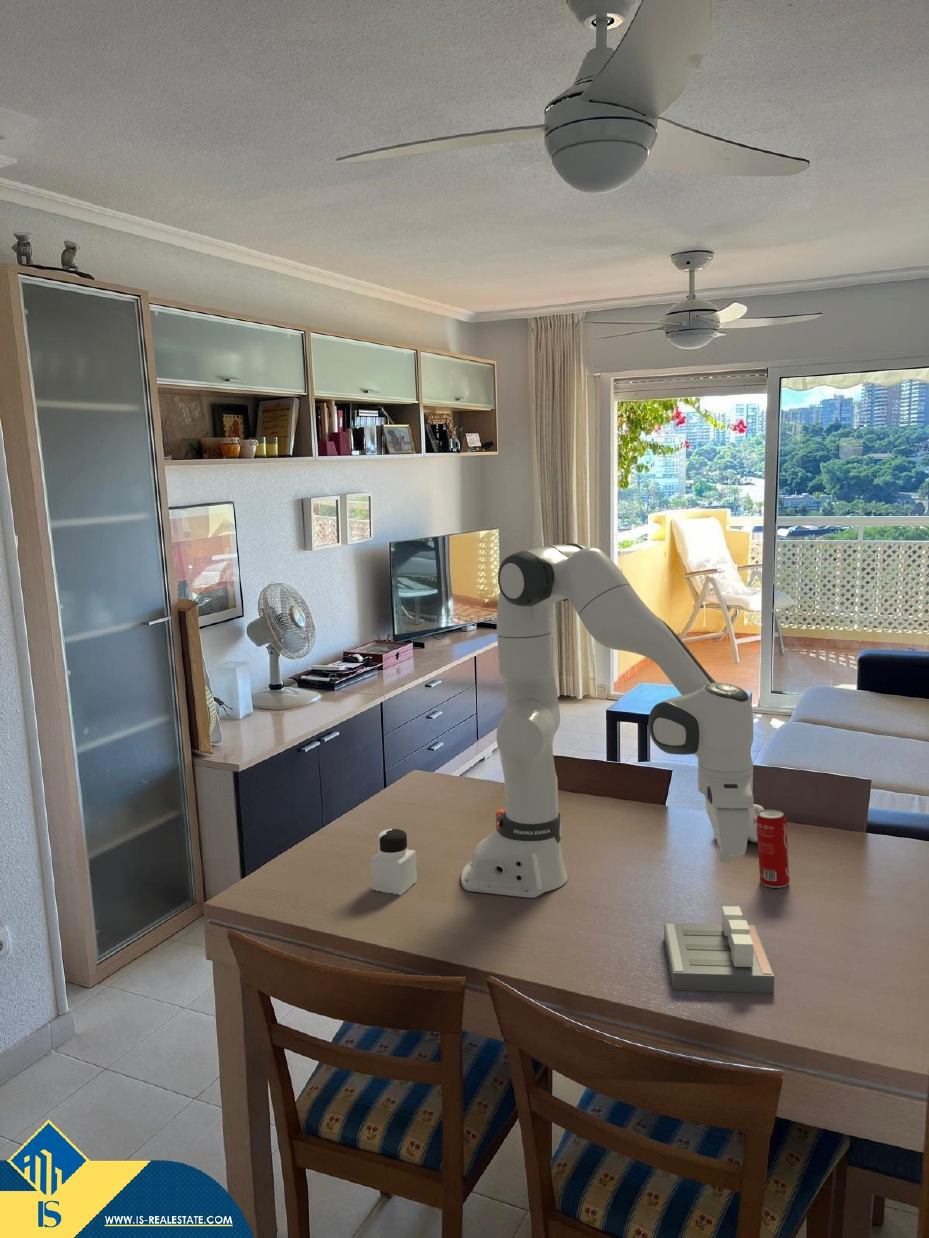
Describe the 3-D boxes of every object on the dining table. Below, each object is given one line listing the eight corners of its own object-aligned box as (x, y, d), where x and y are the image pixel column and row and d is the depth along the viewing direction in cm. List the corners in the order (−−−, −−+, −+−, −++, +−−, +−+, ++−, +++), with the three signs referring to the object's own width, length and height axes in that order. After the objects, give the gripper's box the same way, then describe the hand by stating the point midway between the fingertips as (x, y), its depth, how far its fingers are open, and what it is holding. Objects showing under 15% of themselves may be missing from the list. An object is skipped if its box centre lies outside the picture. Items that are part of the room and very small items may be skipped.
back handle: (724, 935, 160) (724, 914, 159) (721, 927, 163) (722, 906, 163) (742, 936, 160) (742, 915, 159) (739, 927, 163) (739, 906, 162)
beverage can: (791, 889, 184) (792, 819, 181) (757, 888, 185) (758, 817, 183) (787, 877, 189) (788, 808, 187) (754, 875, 191) (755, 807, 188)
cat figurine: (710, 798, 210) (778, 797, 204) (717, 805, 217) (783, 805, 211) (711, 840, 207) (780, 841, 200) (718, 846, 213) (785, 847, 207)
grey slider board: (673, 989, 150) (673, 972, 150) (664, 937, 167) (663, 922, 166) (774, 993, 148) (774, 975, 148) (754, 940, 165) (754, 924, 164)
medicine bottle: (417, 881, 194) (415, 828, 192) (401, 896, 188) (398, 840, 186) (388, 876, 197) (385, 823, 195) (371, 890, 191) (368, 836, 189)
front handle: (734, 966, 150) (734, 943, 150) (731, 956, 153) (731, 933, 153) (752, 966, 150) (753, 944, 149) (749, 956, 153) (749, 934, 152)
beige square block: (731, 950, 155) (731, 928, 154) (728, 941, 158) (728, 919, 158) (749, 951, 155) (749, 929, 154) (745, 941, 158) (746, 920, 157)
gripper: (698, 761, 163) (697, 834, 165) (714, 801, 143) (713, 884, 145) (734, 761, 162) (733, 835, 164) (755, 802, 142) (754, 885, 144)
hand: (724, 859), depth 155 cm, fingers closed
